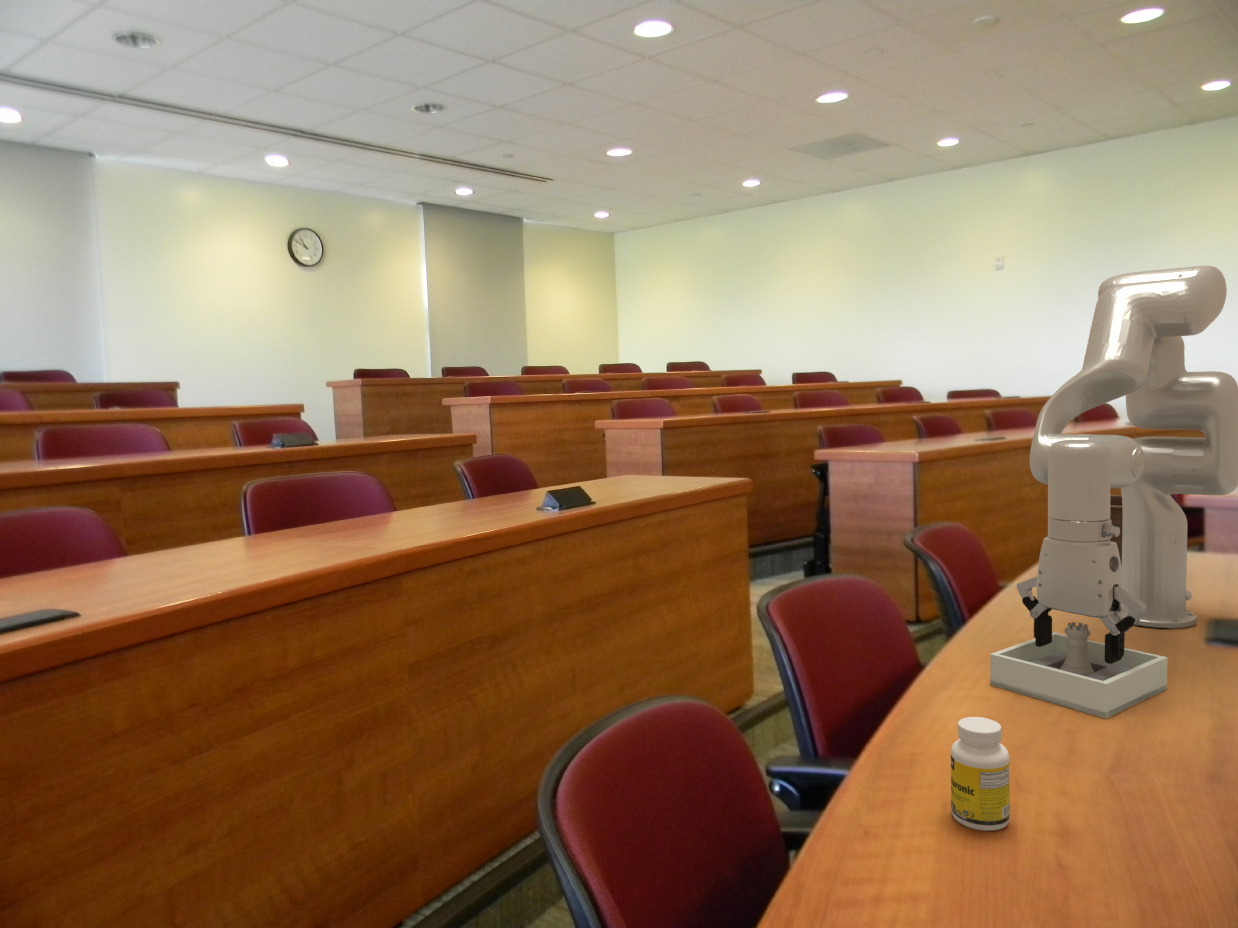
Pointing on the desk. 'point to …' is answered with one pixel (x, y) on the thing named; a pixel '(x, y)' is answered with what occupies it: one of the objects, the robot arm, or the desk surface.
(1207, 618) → the desk surface
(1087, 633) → the rook chess piece
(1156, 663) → the box
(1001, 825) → the supplement bottle
